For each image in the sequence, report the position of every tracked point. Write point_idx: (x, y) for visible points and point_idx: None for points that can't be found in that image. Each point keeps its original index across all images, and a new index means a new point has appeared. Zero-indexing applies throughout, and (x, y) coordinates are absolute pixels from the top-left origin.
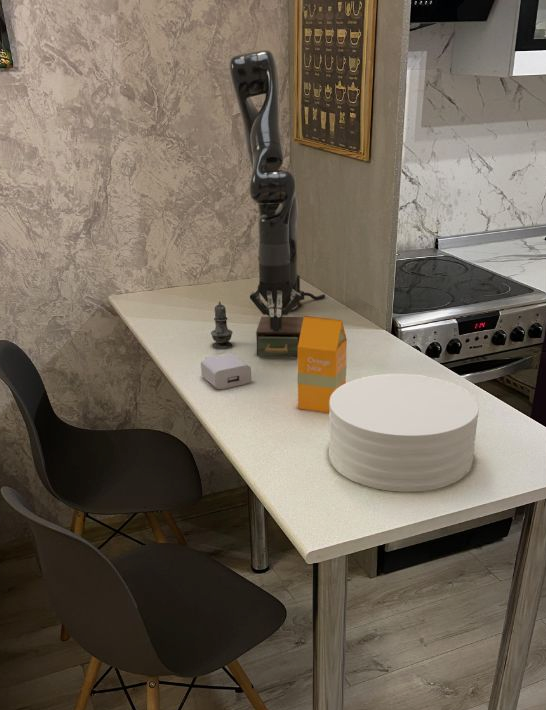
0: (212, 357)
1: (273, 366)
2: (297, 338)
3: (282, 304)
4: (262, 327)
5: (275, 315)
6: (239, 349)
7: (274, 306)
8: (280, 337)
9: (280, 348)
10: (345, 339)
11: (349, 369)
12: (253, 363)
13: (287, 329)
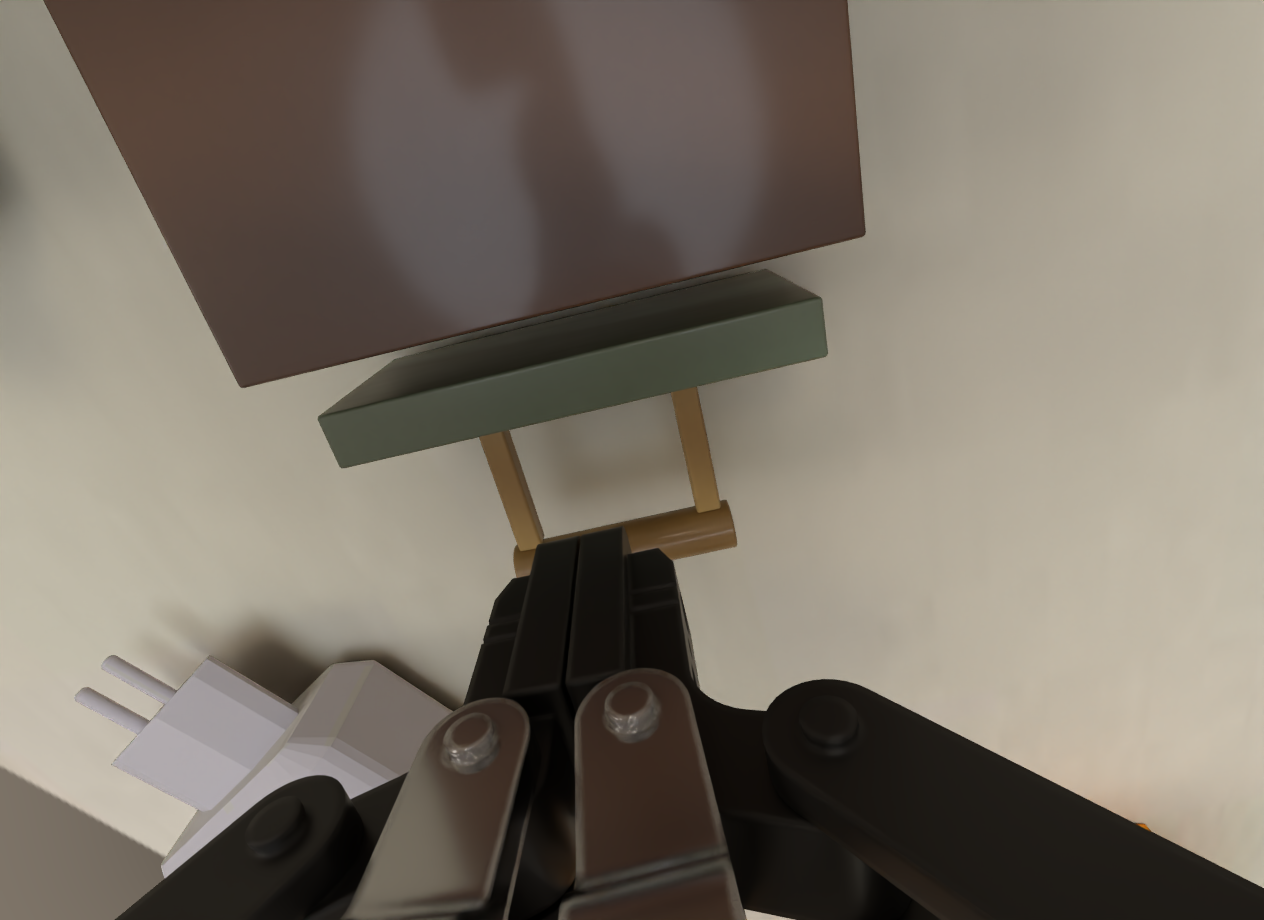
0: None
1: (607, 508)
2: (826, 351)
3: (733, 874)
4: (208, 163)
5: (560, 722)
6: (109, 201)
7: (504, 917)
8: (603, 379)
9: (668, 549)
10: None
11: (1229, 410)
12: (428, 494)
13: (635, 150)
